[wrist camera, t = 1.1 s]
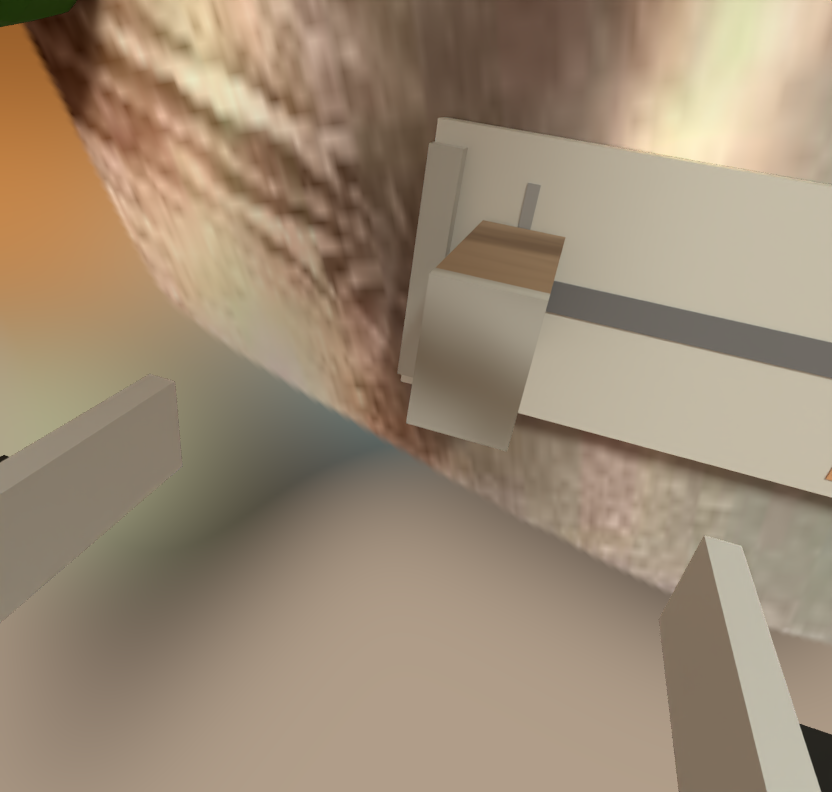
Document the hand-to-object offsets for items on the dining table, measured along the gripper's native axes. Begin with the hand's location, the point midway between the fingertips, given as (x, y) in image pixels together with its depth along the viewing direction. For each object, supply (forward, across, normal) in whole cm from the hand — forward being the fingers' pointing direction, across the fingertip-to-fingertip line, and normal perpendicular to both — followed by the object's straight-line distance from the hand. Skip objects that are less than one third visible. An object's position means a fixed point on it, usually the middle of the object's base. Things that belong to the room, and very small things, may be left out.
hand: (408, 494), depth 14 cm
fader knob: (+17, 0, 0) cm, 17 cm away
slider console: (+19, +10, 0) cm, 21 cm away
